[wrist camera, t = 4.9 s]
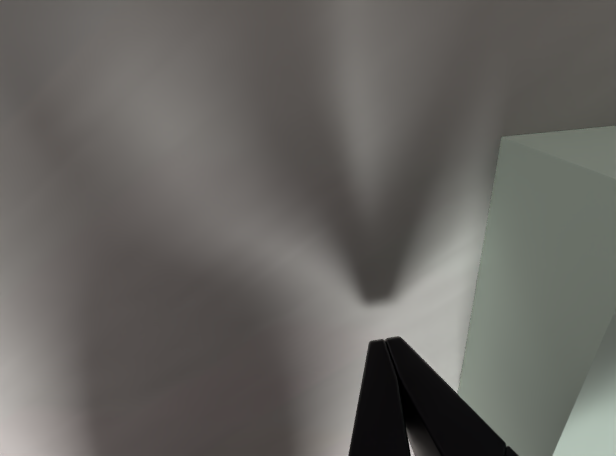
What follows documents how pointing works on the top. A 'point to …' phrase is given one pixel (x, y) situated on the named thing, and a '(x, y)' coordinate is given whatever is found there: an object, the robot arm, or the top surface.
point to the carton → (548, 297)
